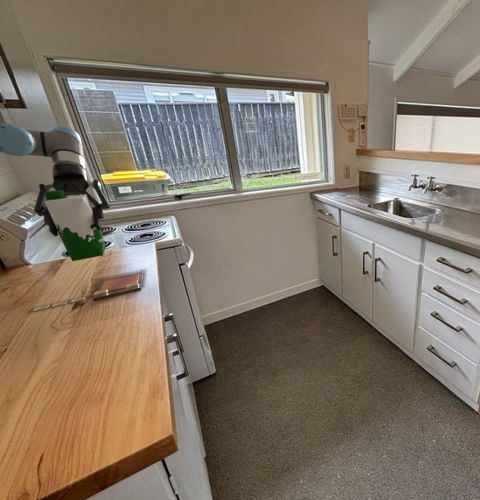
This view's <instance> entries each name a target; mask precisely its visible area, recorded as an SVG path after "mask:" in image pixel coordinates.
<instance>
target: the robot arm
mask: <svg viewBox="0 0 480 500" xmlns="http://www.w3.org/2000/svg"><path fill="white" fill-rule="evenodd" d="M83 148H84V147H83V143H82V140H81V136H80V134H79V133H78V132H77V131H75V130H74V129H72V128H70V127H67V126H53V127H51V128H49V130H48V131H42V130H41V131H40V130H35V129H27V128H23V127H21V126H18V125H15V124H10V123H4V122H1V121H0V153H2V154H6V155H10V156H16V157H23V156H35V157H44V158H51V169H52V170H51V171H52V179H53V181H52V182H51V184H44V183H39V185H38V189H39V192H38V195H37V198H36V202H35V205H34V207H33V212H34V213H35V214H36V215H37V216H38V217H43V222H44V224H45V225H46V226H48V227H49V228H48V229H49V233H50V234H52V236H54V237H59V233H58V231H57V228H56V226H55V224H54V221H53V219H52V217H51V214H50V212H49V210H48V208H47V206H46V204H45V201H46V196H45V194H44V192H47V191H53V190H54V191H55V190H64V193H65V195H66V196H70V195H85V194H86V195H87V197H88V199H89V201H90V203H91V205H92V209H93V216H94V223H95V226H96V228H97V229H98V230H101V231H102V224H101V223H102V222H101V220H103V219H104V218H105V215H104V210H106V209H110V208H111V206H110V204H109V202H108V200H107V198H106V197H105V195H104V193H103V192H102V184H101V183H100V182H99V180H98V179H94V180H93V181H88V178H87V176H88V175H87V171H86V163H85V157H84V149H83ZM89 187H91V188H92V189H94V190H95V192H96V194H97V196H98V197H99V199H100V201H101V203H100V202H99V201H97V200H96V199H95V198H94V197H93V196H92V195H91V194H90V193H89V192H88V191H87V190H88V189H89Z"/></svg>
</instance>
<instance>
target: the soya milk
mask: <svg viewBox="0 0 480 500" xmlns="http://www.w3.org/2000/svg"><path fill="white" fill-rule="evenodd" d="M44 194H45V196H46V201H45V204H46V206H47V208H48V210H49V212H50V214H51V217H52V219H53V221H54V224H55V226H56V228H57V231H58V236H59V237H60V240H61V242H62V245H63V247H64V248H65V250H66V252H67V254H68V255H69V257H70V259H71V262H77V261H82V260H87V259H93V258H97V257H103V256H104V254H105V252H106V245H105V238H104V234H103V232H102V230H98V229H97V228H96V226H95V223H94V216H93V209H92V207H93V205H92V204H91V203H90V201H89V199H88V197H87V195H86V194H85V195H82V194H80V195H70V196H66V195H65V193H64V190H55V189H54V190H52V191H47V192H44Z"/></svg>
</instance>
